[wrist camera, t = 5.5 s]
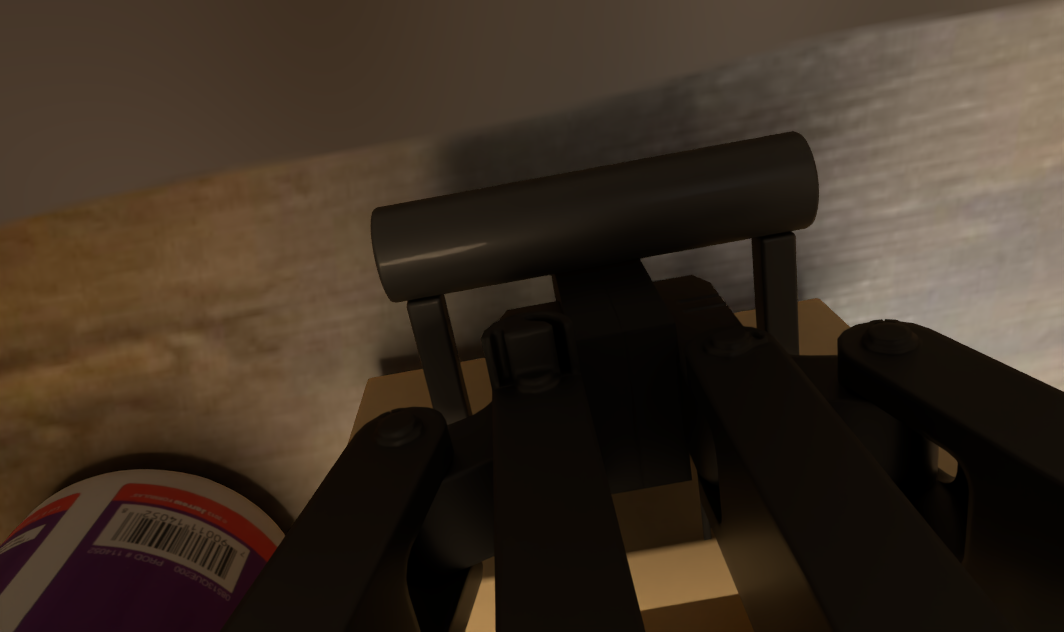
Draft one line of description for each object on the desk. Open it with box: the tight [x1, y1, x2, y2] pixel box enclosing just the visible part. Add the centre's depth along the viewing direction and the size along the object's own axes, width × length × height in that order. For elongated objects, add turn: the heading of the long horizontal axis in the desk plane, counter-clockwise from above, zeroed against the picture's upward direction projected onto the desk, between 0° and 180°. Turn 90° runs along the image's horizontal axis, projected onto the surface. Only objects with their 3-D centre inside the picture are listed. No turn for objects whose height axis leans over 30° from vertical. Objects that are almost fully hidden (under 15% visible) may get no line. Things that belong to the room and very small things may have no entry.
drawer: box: [348, 131, 958, 632], centre depth 17 cm, size 19×11×8 cm, turn 10°
